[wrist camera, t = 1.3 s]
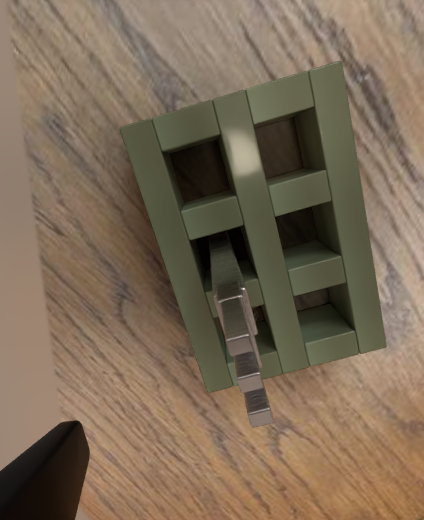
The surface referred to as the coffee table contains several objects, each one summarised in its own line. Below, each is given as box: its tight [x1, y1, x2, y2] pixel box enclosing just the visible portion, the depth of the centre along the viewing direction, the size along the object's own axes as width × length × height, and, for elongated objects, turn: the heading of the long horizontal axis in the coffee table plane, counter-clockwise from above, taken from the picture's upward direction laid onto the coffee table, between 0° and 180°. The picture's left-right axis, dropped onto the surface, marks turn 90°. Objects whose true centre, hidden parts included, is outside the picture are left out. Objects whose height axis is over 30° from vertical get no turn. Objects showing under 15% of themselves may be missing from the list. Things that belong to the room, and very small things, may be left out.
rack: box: [120, 61, 387, 393], centre depth 17 cm, size 9×13×4 cm
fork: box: [209, 230, 274, 428], centre depth 13 cm, size 1×2×13 cm, turn 16°
